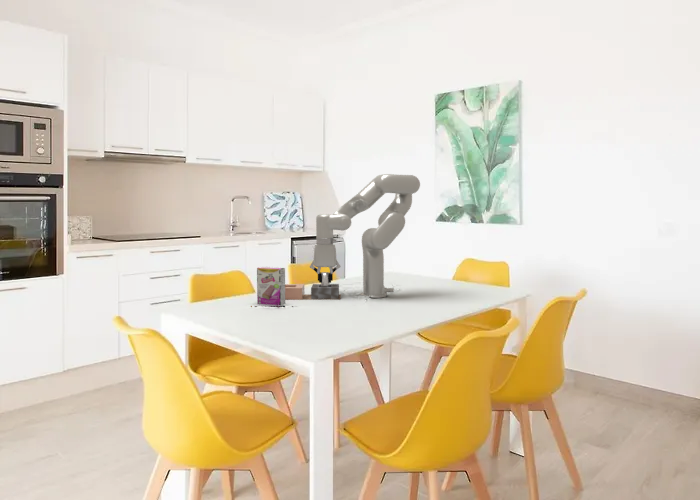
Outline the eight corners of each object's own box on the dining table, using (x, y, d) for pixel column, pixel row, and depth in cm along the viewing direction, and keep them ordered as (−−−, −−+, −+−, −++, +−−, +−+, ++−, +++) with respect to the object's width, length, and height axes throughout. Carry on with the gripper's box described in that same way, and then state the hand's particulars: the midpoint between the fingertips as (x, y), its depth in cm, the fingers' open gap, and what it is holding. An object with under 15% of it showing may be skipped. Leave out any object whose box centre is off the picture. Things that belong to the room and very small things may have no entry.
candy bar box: (256, 306, 233) (256, 267, 232) (262, 304, 238) (261, 266, 237) (280, 307, 230) (280, 268, 228) (286, 305, 234) (285, 267, 233)
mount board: (341, 296, 257) (341, 283, 256) (340, 301, 243) (340, 288, 242) (276, 296, 257) (276, 283, 256) (272, 302, 243) (272, 288, 243)
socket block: (304, 294, 256) (304, 284, 255) (302, 299, 244) (301, 288, 243) (278, 294, 256) (278, 284, 255) (274, 299, 244) (274, 288, 244)
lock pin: (330, 296, 252) (329, 272, 251) (329, 297, 248) (329, 273, 247) (321, 296, 252) (320, 272, 251) (320, 297, 248) (320, 273, 247)
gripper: (343, 241, 251) (343, 281, 253) (306, 241, 251) (307, 281, 253) (343, 242, 244) (343, 283, 245) (305, 242, 244) (306, 283, 245)
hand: (325, 281), depth 249 cm, fingers closed on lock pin, 4 cm apart
